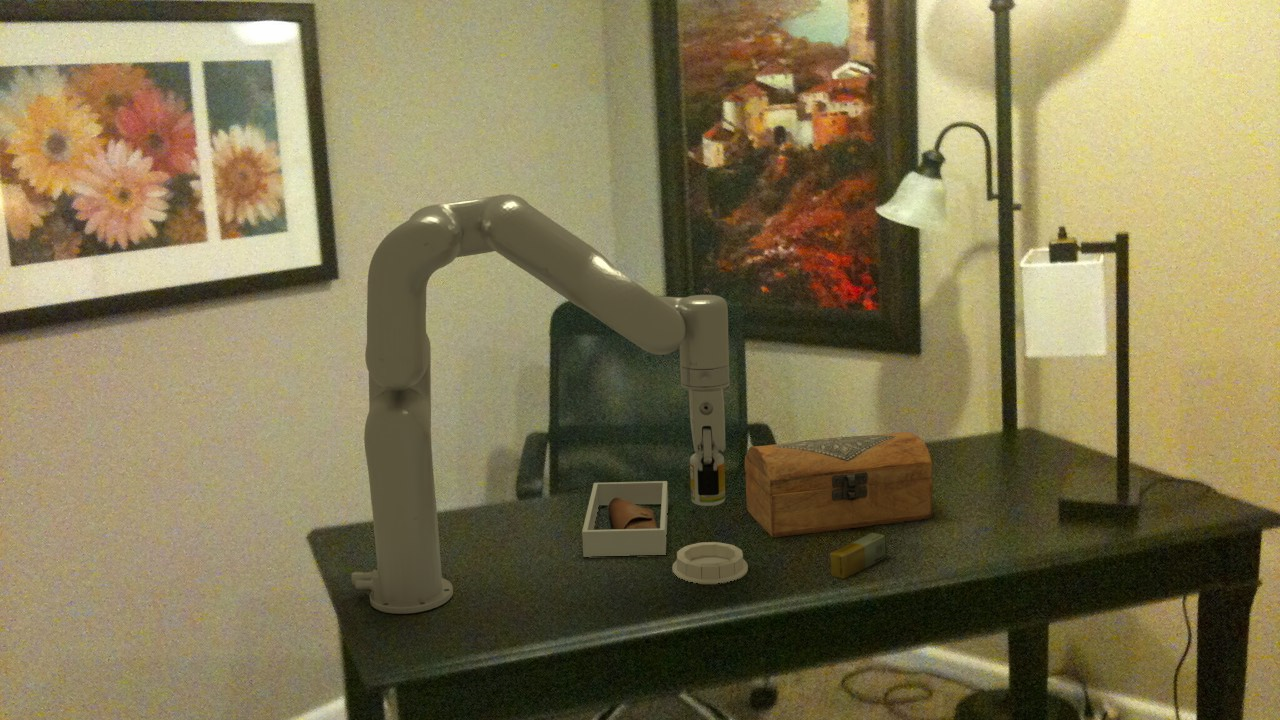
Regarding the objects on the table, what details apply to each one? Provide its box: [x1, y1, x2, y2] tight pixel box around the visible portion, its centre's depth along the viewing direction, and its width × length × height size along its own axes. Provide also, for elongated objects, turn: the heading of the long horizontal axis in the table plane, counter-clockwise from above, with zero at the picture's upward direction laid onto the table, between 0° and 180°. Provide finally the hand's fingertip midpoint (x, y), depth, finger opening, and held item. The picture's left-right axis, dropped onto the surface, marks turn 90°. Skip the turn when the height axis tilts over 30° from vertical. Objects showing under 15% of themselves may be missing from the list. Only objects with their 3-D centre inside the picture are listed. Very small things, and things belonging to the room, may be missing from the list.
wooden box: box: [744, 431, 934, 538], centre depth 212 cm, size 30×16×14 cm, turn 101°
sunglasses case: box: [607, 498, 659, 529], centre depth 210 cm, size 18×7×7 cm
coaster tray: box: [671, 541, 749, 585], centre depth 191 cm, size 12×12×3 cm
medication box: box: [829, 531, 888, 579], centre depth 190 cm, size 12×3×4 cm, turn 134°
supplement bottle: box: [689, 443, 726, 507], centre depth 188 cm, size 5×5×10 cm
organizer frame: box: [581, 480, 669, 558], centre depth 210 cm, size 14×26×4 cm, turn 178°
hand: (708, 486), depth 188 cm, fingers closed on supplement bottle, 5 cm apart
